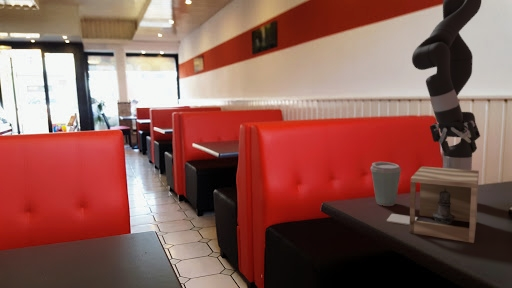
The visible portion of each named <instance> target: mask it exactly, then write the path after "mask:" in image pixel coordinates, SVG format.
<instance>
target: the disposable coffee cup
mask: <svg viewBox="0 0 512 288" xmlns="http://www.w3.org/2000/svg"><path fill="white" fill-rule="evenodd" d="M370 171H371V176H372V183H373V184H372V185H373V190H374V196H375V197H374V198H375V201H376V204H377V205H379V206H382V205H383V207H391V206H395V204H396V202H397V197H398V189H399V183H400V177H401V171H402V168H401V167H400V166H399V164H396V163H394V162H388V161H375V162H372V163H371V166H370Z"/></svg>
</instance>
